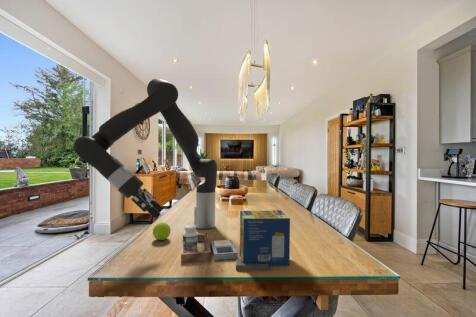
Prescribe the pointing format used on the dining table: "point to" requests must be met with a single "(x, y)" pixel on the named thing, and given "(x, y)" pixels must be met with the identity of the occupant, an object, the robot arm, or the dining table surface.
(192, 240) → the pill bottle
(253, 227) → the protein box
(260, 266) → the grey flat block
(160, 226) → the tennis ball
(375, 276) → the dining table surface
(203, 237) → the frame
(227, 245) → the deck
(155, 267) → the dining table surface
